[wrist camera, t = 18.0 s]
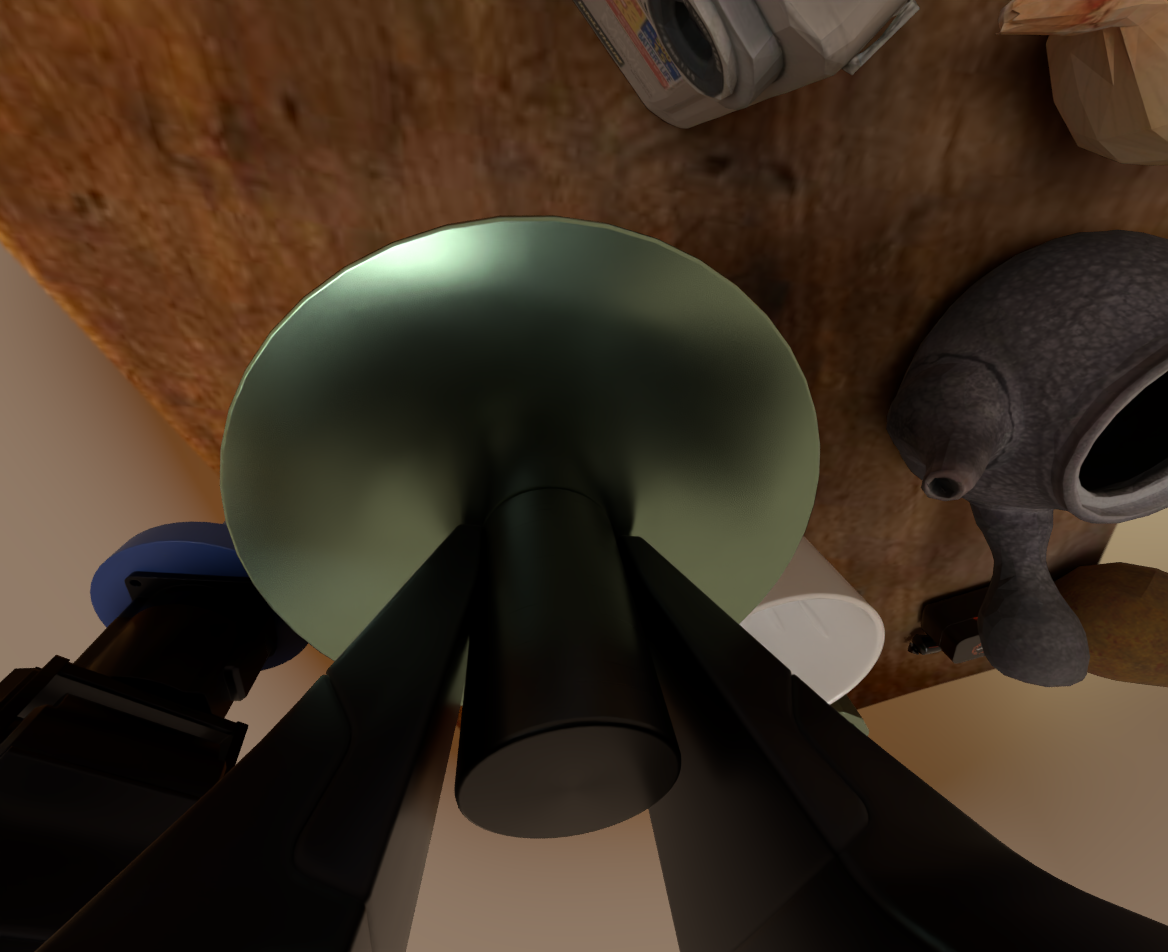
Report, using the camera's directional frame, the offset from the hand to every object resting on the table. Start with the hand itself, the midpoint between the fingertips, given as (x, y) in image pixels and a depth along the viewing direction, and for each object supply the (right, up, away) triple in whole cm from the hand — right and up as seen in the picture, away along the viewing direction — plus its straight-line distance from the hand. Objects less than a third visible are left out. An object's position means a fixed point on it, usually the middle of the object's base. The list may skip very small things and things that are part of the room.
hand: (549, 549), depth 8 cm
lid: (0, 0, +1) cm, 1 cm away
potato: (+37, -12, +23) cm, 45 cm away
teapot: (+20, +4, +16) cm, 26 cm away
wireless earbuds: (+27, -9, +25) cm, 38 cm away
